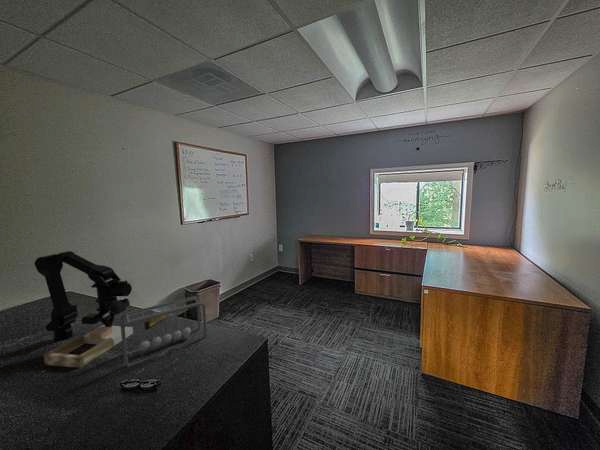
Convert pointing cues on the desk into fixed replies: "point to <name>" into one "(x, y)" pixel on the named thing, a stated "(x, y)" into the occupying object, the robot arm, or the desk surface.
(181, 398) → the desk surface
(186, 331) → the newton's cradle
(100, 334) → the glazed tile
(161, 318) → the shard
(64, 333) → the robot arm
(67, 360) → the box
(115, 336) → the plate
